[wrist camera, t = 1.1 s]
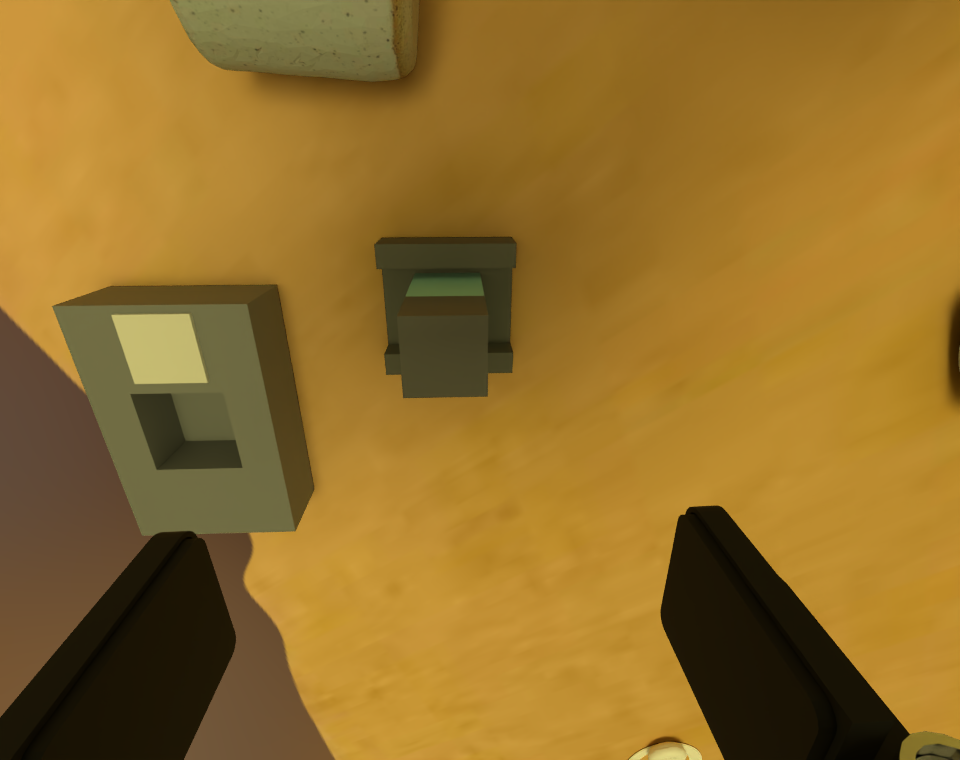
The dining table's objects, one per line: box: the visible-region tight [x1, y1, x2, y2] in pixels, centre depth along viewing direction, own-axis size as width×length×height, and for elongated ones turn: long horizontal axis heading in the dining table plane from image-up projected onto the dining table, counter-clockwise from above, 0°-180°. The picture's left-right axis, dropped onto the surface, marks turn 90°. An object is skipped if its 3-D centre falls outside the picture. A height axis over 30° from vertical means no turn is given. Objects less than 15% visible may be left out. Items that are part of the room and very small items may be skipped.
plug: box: [397, 273, 488, 398], centre depth 22 cm, size 4×4×8 cm
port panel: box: [52, 285, 314, 536], centre depth 27 cm, size 14×9×4 cm, turn 0°
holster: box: [374, 237, 516, 375], centre depth 25 cm, size 7×7×2 cm
